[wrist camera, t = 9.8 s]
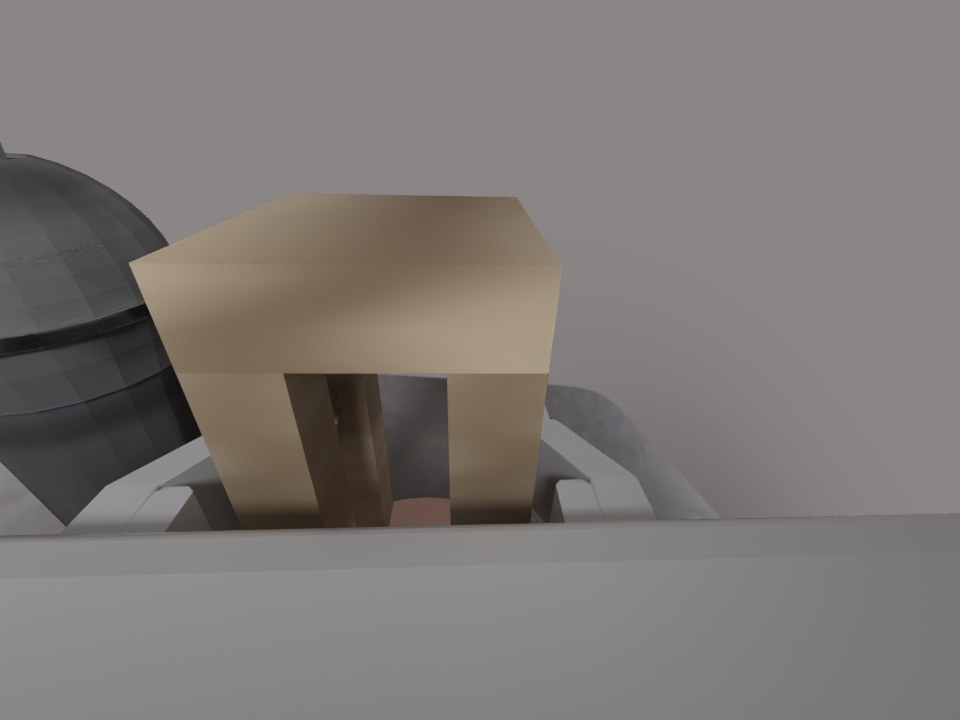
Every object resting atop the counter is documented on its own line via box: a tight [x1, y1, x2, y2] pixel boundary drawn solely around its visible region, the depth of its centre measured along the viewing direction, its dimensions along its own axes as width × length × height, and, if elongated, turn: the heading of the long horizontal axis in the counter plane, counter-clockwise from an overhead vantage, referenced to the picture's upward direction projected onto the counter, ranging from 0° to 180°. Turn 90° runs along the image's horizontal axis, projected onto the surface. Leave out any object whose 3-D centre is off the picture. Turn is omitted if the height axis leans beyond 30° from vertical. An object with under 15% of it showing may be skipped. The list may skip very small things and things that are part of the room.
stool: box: [129, 194, 562, 530], centre depth 9 cm, size 5×5×10 cm
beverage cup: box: [0, 143, 202, 527], centre depth 13 cm, size 7×7×20 cm
